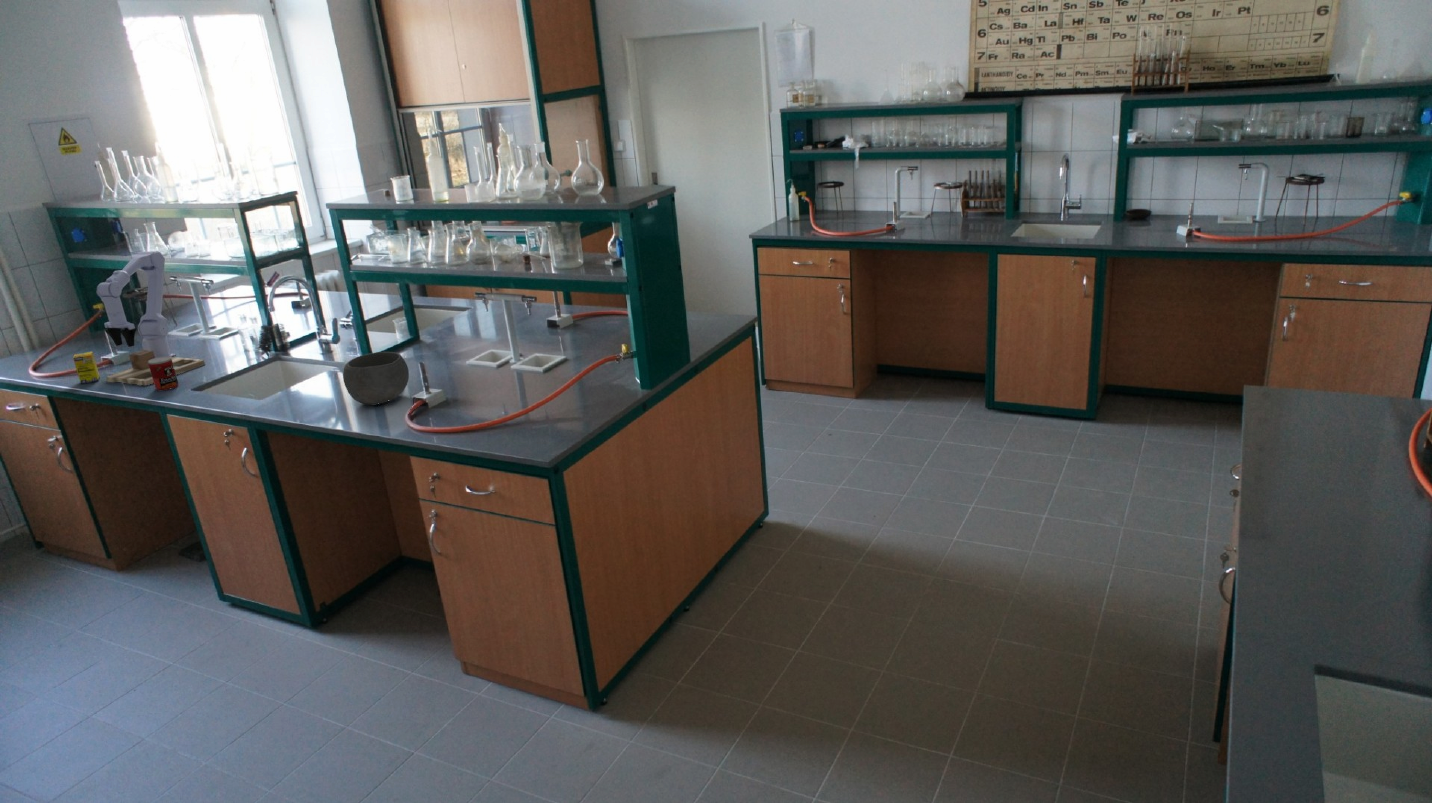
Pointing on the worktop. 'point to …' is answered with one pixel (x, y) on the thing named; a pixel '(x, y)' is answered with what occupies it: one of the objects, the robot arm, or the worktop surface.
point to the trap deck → (145, 375)
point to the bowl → (376, 377)
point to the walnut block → (141, 359)
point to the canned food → (163, 373)
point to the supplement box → (86, 367)
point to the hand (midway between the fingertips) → (125, 345)
